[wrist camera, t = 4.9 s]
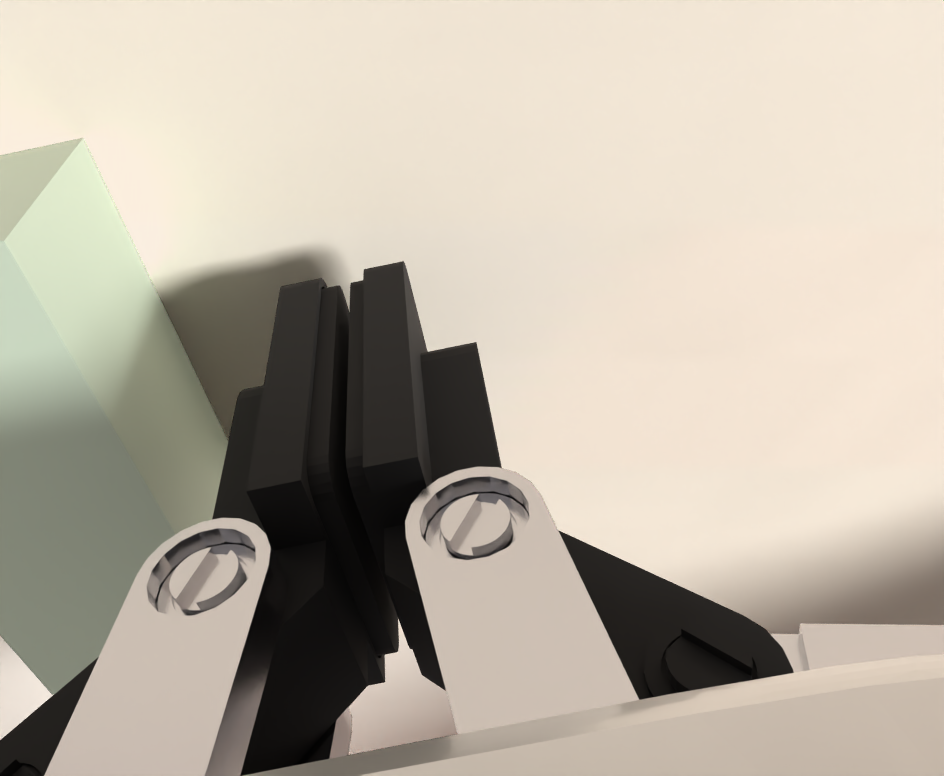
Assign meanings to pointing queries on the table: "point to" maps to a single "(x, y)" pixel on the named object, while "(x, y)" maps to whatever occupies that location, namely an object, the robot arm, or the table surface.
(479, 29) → the table surface
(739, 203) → the table surface
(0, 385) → the t block
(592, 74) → the table surface
